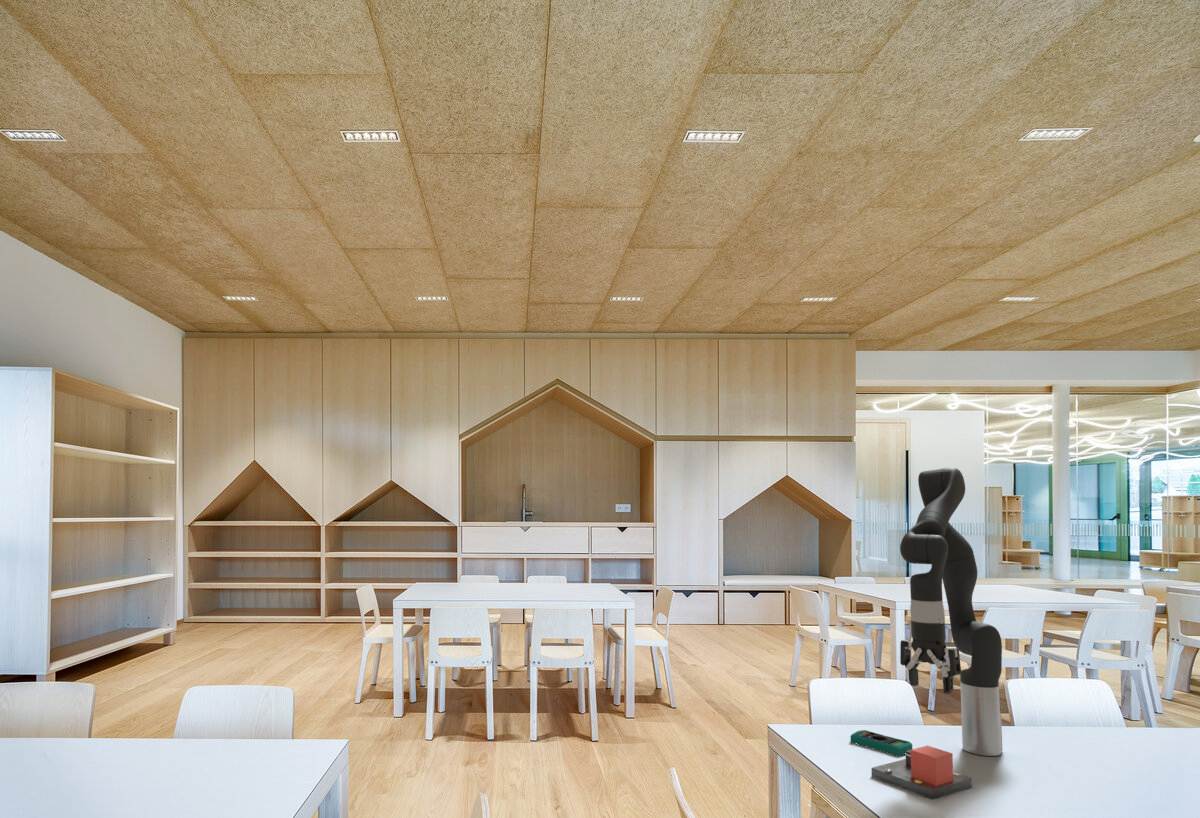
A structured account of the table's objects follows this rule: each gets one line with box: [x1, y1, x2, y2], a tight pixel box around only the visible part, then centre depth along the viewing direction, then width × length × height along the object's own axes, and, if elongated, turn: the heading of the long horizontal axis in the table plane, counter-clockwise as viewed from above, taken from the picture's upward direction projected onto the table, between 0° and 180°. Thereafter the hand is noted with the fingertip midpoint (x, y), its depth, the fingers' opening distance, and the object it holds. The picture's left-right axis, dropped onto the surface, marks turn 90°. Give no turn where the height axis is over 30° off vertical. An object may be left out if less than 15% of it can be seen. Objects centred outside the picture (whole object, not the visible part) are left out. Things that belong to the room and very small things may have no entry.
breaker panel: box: [871, 758, 973, 800], centre depth 180 cm, size 15×16×3 cm
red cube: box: [911, 745, 954, 786], centre depth 177 cm, size 6×6×6 cm
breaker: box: [904, 750, 911, 766], centre depth 186 cm, size 3×3×3 cm
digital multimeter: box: [850, 729, 913, 756], centre depth 206 cm, size 7×15×3 cm, turn 40°
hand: (931, 689), depth 182 cm, fingers open, 8 cm apart
